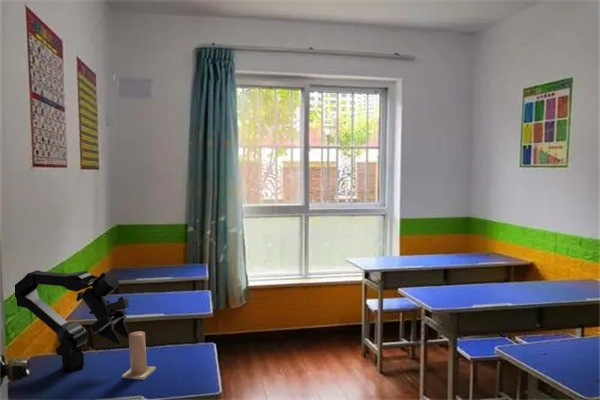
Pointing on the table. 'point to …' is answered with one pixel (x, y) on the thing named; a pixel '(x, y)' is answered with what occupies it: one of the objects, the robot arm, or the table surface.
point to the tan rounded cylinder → (137, 352)
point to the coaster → (139, 376)
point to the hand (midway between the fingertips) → (123, 340)
